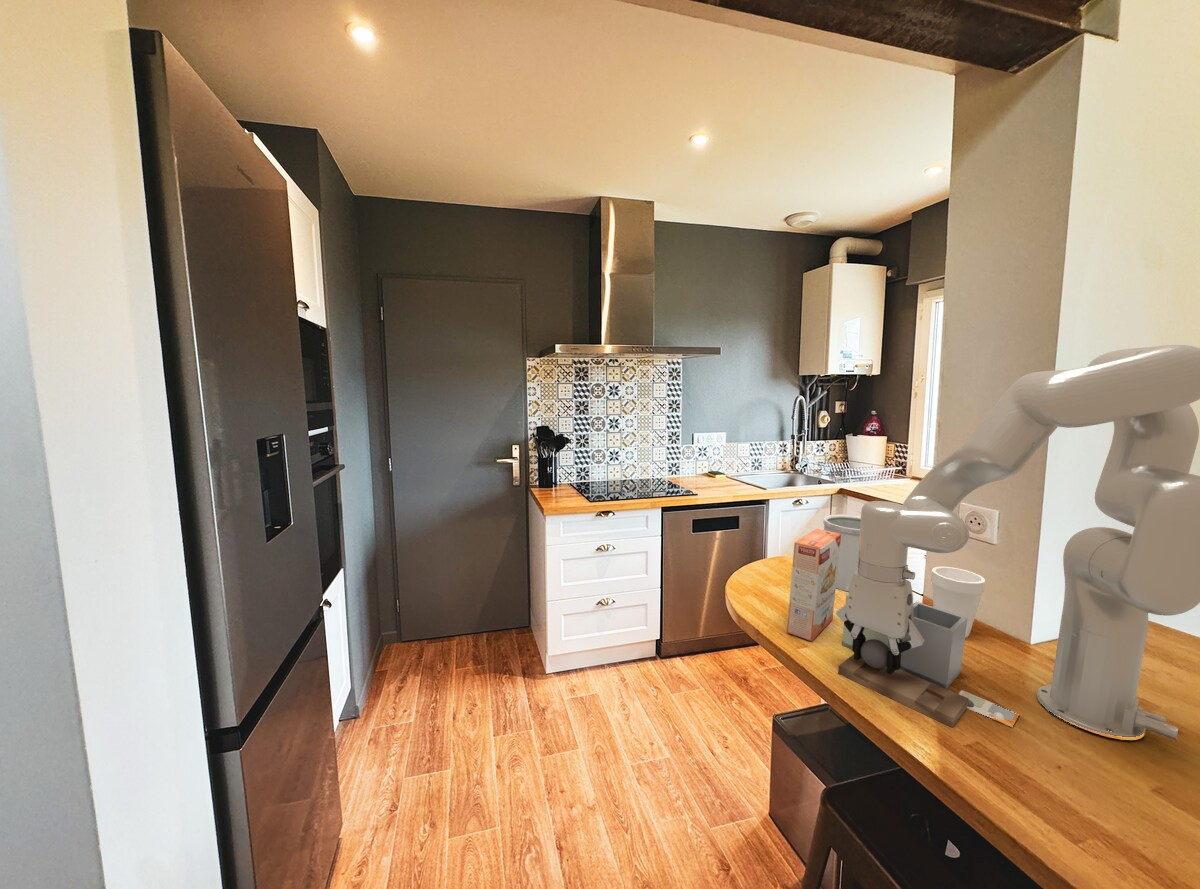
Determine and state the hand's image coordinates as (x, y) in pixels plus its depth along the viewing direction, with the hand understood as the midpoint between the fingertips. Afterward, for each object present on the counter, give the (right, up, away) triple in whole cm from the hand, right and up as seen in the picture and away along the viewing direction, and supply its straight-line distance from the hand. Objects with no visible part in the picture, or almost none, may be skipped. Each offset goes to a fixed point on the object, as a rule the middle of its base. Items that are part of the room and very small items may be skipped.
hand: (875, 663), depth 88 cm
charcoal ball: (0, +2, 0) cm, 2 cm away
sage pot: (+5, -1, +10) cm, 12 cm away
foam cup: (+27, -1, +18) cm, 33 cm away
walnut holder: (+2, -3, -3) cm, 5 cm away
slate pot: (+12, -3, +3) cm, 12 cm away
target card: (+14, -4, -8) cm, 17 cm away
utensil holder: (+17, +2, +43) cm, 47 cm away
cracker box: (-4, -1, +18) cm, 19 cm away
